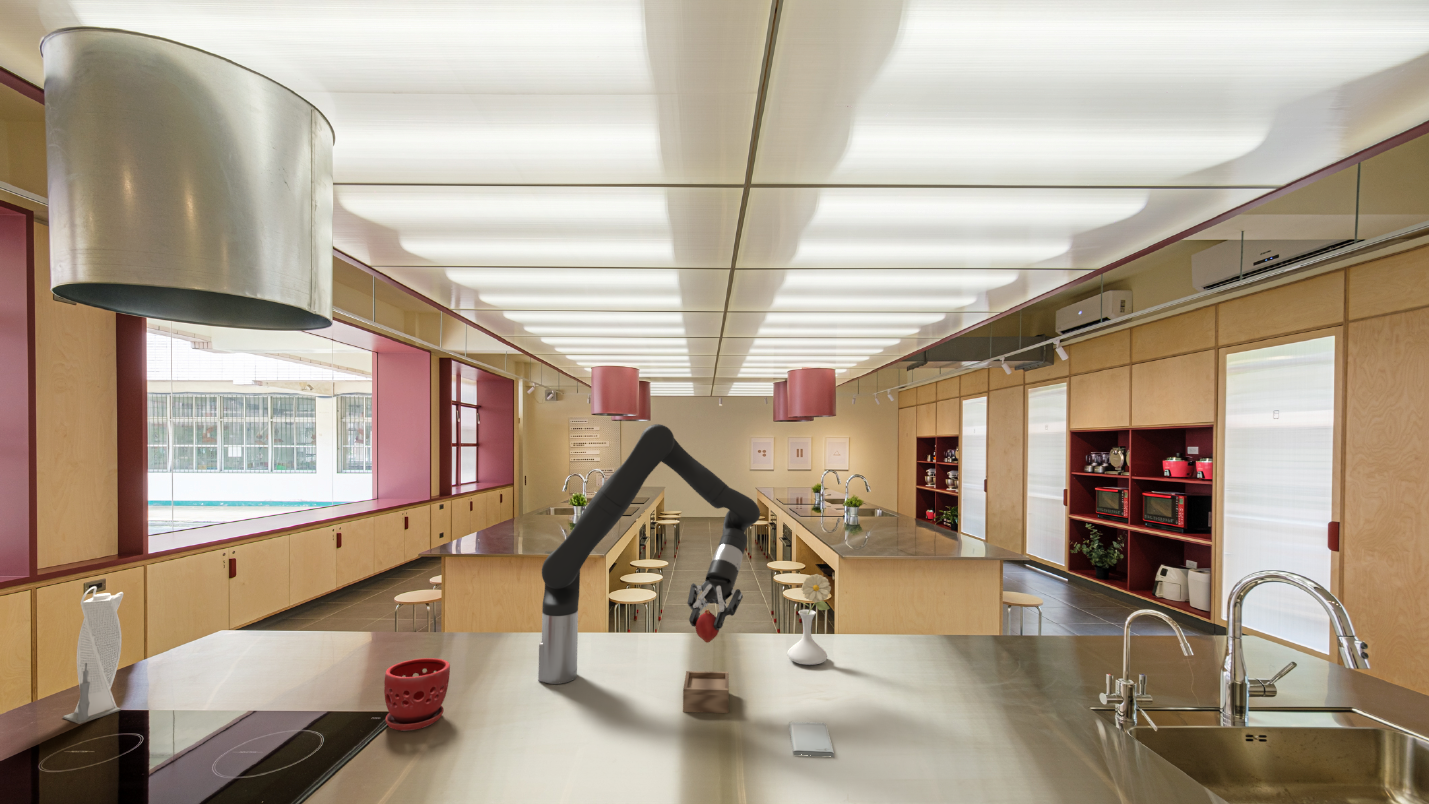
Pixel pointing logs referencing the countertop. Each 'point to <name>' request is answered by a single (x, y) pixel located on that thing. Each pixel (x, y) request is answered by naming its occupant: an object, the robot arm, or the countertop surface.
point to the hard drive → (810, 739)
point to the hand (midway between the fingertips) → (704, 626)
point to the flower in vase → (807, 648)
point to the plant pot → (415, 693)
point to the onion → (706, 626)
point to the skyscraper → (97, 656)
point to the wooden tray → (706, 692)
